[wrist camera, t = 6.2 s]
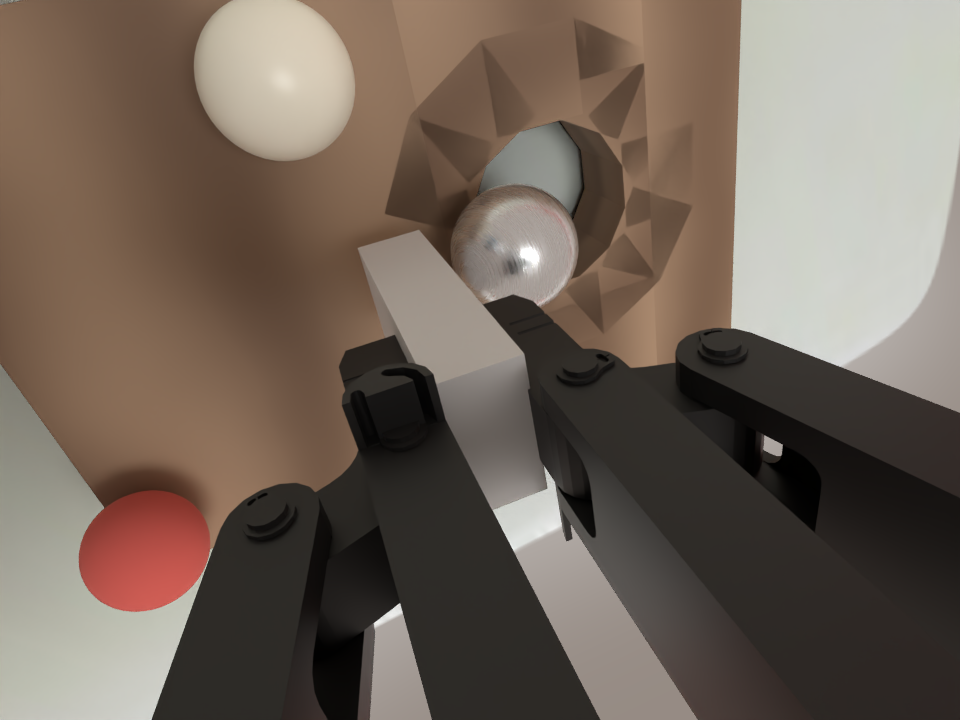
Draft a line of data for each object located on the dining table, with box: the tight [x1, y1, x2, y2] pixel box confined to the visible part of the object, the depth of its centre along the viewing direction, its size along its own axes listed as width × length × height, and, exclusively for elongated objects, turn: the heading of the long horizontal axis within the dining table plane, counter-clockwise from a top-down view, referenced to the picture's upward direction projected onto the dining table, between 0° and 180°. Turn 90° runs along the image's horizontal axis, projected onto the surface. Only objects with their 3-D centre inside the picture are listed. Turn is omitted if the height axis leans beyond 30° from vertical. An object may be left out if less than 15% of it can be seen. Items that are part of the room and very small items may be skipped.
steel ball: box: [451, 184, 579, 307], centre depth 16 cm, size 3×3×3 cm
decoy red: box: [79, 490, 210, 612], centre depth 16 cm, size 3×3×3 cm
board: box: [0, 0, 741, 549], centre depth 17 cm, size 20×14×2 cm
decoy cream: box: [194, 0, 355, 161], centre depth 12 cm, size 3×3×3 cm
